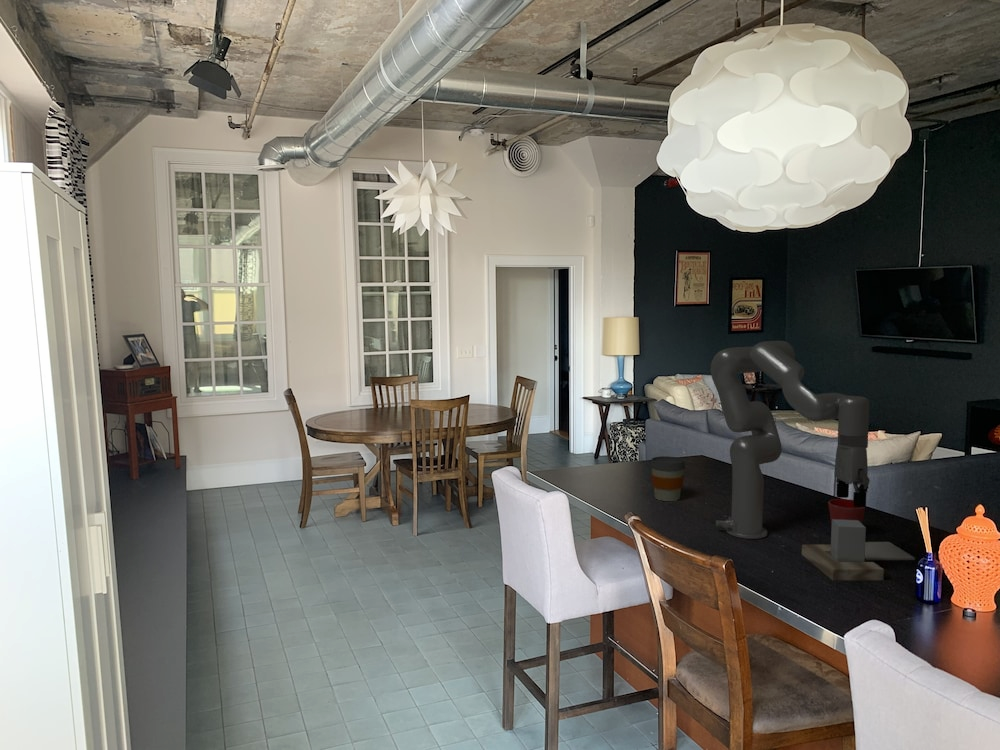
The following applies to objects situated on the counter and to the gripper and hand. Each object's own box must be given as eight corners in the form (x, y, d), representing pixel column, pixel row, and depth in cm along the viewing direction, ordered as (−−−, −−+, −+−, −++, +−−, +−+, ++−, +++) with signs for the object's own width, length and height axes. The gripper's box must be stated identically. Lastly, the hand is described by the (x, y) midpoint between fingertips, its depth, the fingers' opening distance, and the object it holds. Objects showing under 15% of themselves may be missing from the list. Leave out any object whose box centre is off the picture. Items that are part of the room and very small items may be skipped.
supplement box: (864, 572, 200) (866, 527, 199) (835, 570, 202) (837, 526, 201) (857, 563, 208) (859, 519, 206) (829, 561, 209) (831, 518, 208)
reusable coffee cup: (681, 494, 281) (682, 456, 279) (686, 503, 268) (687, 463, 267) (648, 494, 282) (649, 456, 281) (652, 503, 270) (652, 463, 268)
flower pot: (844, 539, 228) (845, 509, 227) (820, 529, 239) (821, 499, 238) (872, 536, 231) (873, 506, 230) (847, 526, 241) (848, 497, 240)
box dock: (832, 580, 195) (833, 569, 194) (801, 554, 215) (802, 544, 214) (883, 580, 195) (883, 569, 195) (847, 554, 215) (847, 544, 214)
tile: (866, 560, 210) (866, 558, 210) (843, 544, 224) (843, 542, 224) (914, 559, 210) (914, 557, 210) (888, 543, 224) (888, 541, 224)
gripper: (825, 435, 210) (823, 494, 211) (854, 447, 192) (852, 510, 194) (851, 435, 210) (849, 493, 211) (882, 446, 192) (880, 510, 194)
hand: (850, 501), depth 203 cm, fingers open, 9 cm apart
